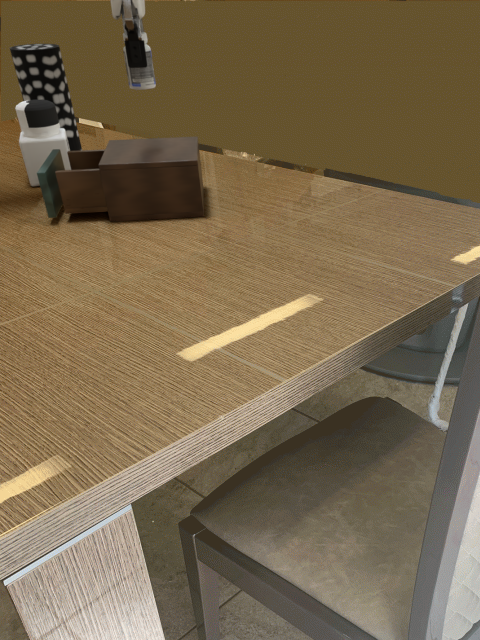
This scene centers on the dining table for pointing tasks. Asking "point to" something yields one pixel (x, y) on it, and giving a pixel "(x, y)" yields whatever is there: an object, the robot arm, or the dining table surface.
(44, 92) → the spotted tube
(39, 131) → the container
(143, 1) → the robot arm
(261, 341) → the dining table surface
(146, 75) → the pill bottle
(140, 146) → the cabinet
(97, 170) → the drawer
